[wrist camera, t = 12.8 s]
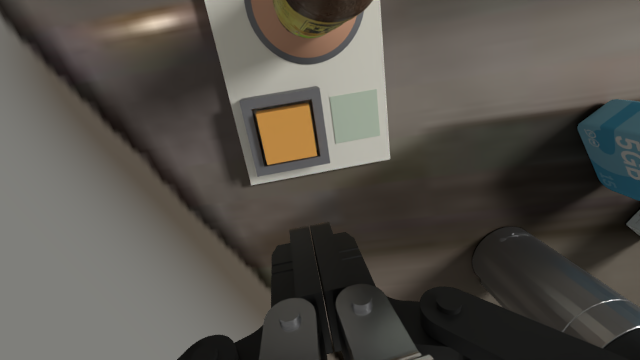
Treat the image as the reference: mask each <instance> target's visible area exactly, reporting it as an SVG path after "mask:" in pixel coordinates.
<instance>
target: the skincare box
mask: <svg viewBox="0 0 640 360" xmlns="http://www.w3.org/2000/svg"><path fill="white" fill-rule="evenodd" d="M626 225H627V226H628V227H630V228H631V229H632V230H633V231H634V232H636V233H637V234H638V235H639V236H640V210H639V211H638V212H637V213H636V214H635V215H634V216H633V217H632V218H631V219H630V220H629V221H628V222H627V223H626Z"/></svg>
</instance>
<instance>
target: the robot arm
mask: <svg viewBox="0 0 640 360" xmlns="http://www.w3.org/2000/svg"><path fill="white" fill-rule="evenodd" d="M310 228H311V234H312V240H313V245H314V250H313V246H312V241H311V236H310V231H309V226H305V227H300V228H295V229H290V242H291V243H288V244H283V245H278V246H277V247H276V249H275V251H274V252H273V254H272V280H271V309H270V310H269V311H268V313H267V314H266V316H265V319H264V324H263V326H262V327H260V328H259V329H258V330H257V331H255V332H254V333H252V334H251V335H249V336H247V337H245V338H243V339H241V340H239V341H237V342H235V343H233V341H232V340H231V339H230V338H229V337H227V336H224V335H213V336H208V337H205V338H203V339H201V340H199V341H198V342H196V343H195V344H193V345H192V346H191V347H190V348H188V349H187V350H186V352H184V354H183V355H181V356H180V357H179V358H178V359H177V360H327V355H326V354H329V353H333V351H332V345H331V340H330V334H329V328H328V323H327V317H326V311H327V316H328V321H329V325H330V330H331V335H332V340H333V345H334V350H335V352H338V351H342V353H343V357H344V360H640V307H638V306H637V305H635V304H634V303H632V302H631V301H629V300H628V299H626V298H625V297H623V296H622V295H620V294H619V293H617V292H616V291H614V290H613V289H612V288H610V287H609V286H607V285H606V284H604V283H603V282H601V281H600V280H598V279H597V278H595V277H594V276H592V275H591V274H589V273H588V272H586V271H585V270H583V269H582V268H580V267H579V266H577V265H576V264H574V263H573V262H571V261H570V260H568V259H567V258H565V257H564V256H562V255H561V254H560V253H558V252H557V251H555V250H554V249H552V248H551V247H549V246H548V245H546V244H545V243H543V242H542V241H540V240H539V239H537V238H536V237H534V236H533V235H531V234H530V233H528V232H527V231H525V230H524V229H522V228H519V227H504V228H501V229H498V230H496V231H494V232H492V233H491V234H489V235H488V236H486V237H485V238H484V239H483V240H482V241H481V242H480V244H479V245H478V247H477V248H476V250H475V252H474V255H473V260H472V265H473V269H474V271H475V273H476V274H477V275H478V276H479V277H480V279H481V284H482V285H483V286H484V288H485V289H486V290H487V291H488V292H489V293H490V294H491V295H492V296H493V297H494V298H495V299H496V300H497V302H498V303H499V304H500V305H501V306H502V307H503V308H502V307H500V306H498V305H495V304H493V303H490V302H488V301H485V300H483V299H480V298H478V297H476V296H473V295H471V294H468V293H466V292H463V291H461V290H458V289H455V288H451V287H436V288H432V289H430V290H428V291H426V292H425V293H424V294H423V295H422V297H421V300H420V302H415V301H400V300H395V299H392V298H389V297H387V296H386V295H385V294H384V293H383V292H382V291H381V290H380V289H379V288H377V287H376V286H375V284H374V282H373V279H372V277H371V275H370V273H369V270H368V268H367V266H366V264H365V261H364V259H363V257H362V255H361V253H360V250H359V249H358V246H357V244H356V241H355V239H354V238H353V237H352V236H350V235H349V234H347V233H346V232H343V233H338V234H333V232H332V229H331V226H330V223H329V222H325V223H320V224H315V225H310ZM314 251H315V255H314ZM315 256H316V260H315ZM316 262H317V265H316ZM317 267H318V270H317ZM318 272H319V275H318ZM319 277H320V280H319ZM320 282H321V284H320ZM321 287H322V289H321ZM322 292H323V295H322ZM323 297H324V300H323ZM324 301H325V306H326V311H325V306H324Z"/></svg>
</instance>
